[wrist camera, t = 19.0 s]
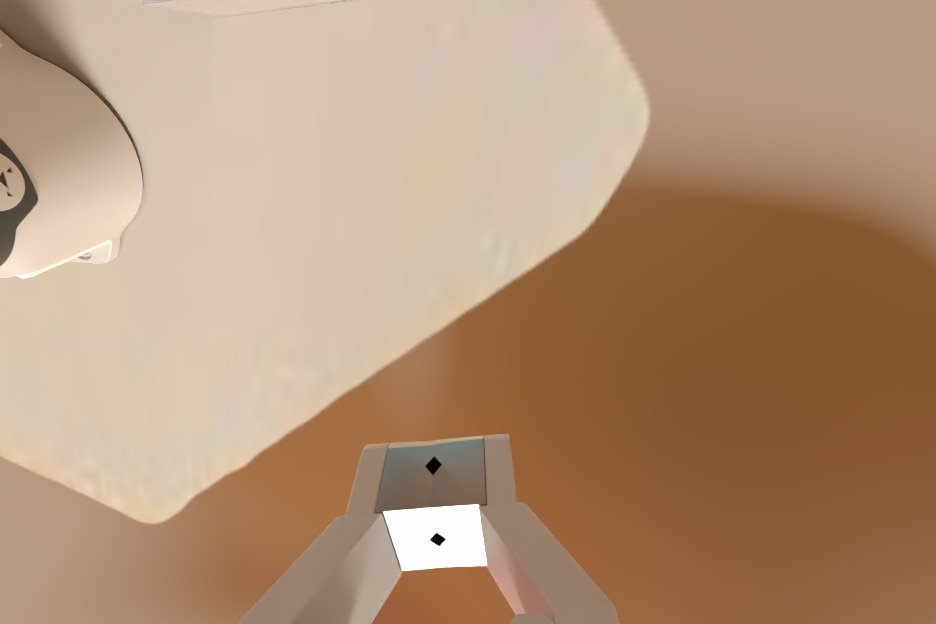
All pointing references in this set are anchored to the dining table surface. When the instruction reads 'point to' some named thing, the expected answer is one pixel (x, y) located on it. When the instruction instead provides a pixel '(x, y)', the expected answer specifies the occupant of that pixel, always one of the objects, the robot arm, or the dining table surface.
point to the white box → (233, 5)
